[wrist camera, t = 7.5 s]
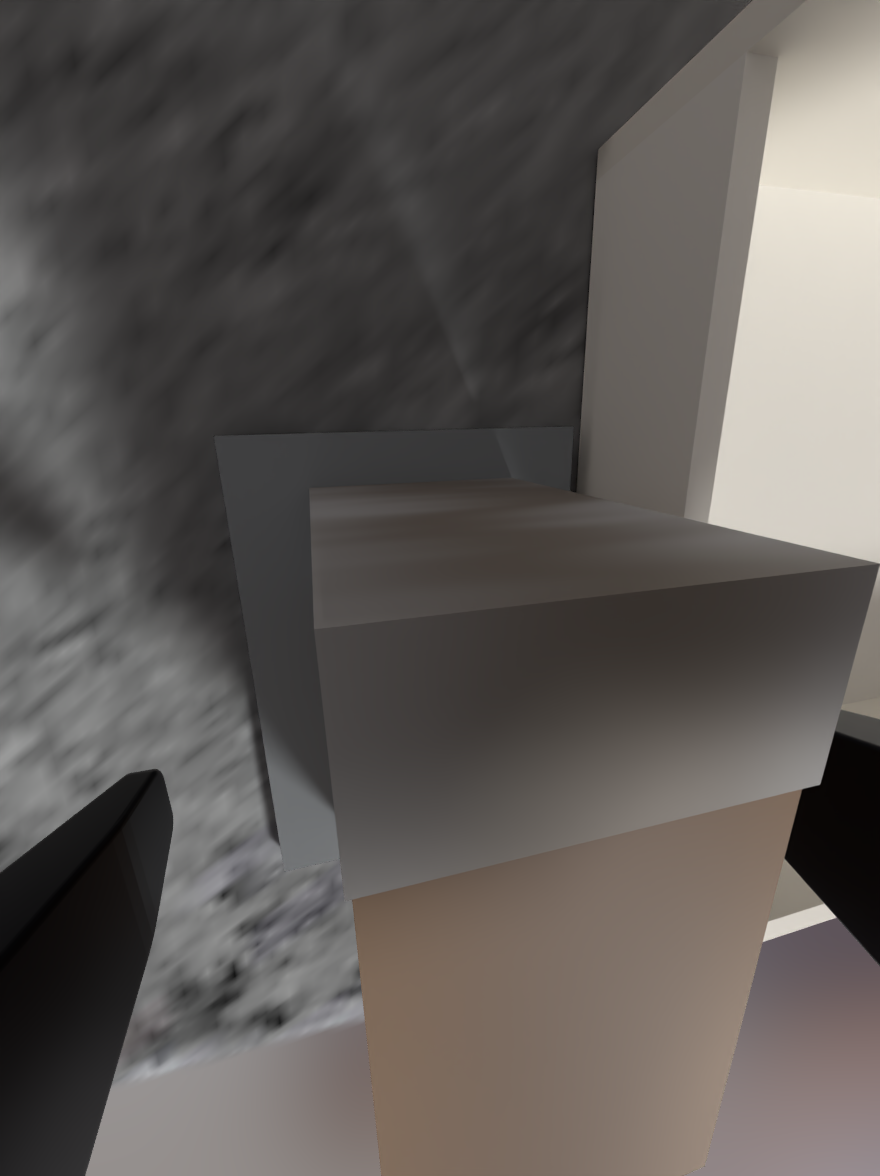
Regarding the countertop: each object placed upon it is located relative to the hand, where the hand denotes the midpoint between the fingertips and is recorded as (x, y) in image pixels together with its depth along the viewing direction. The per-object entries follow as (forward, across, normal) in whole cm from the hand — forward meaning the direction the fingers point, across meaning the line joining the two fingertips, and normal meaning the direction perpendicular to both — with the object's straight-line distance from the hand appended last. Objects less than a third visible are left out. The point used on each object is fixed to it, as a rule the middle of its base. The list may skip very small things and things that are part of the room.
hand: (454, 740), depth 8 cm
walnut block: (+3, 0, 0) cm, 3 cm away
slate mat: (+4, 0, 0) cm, 4 cm away
